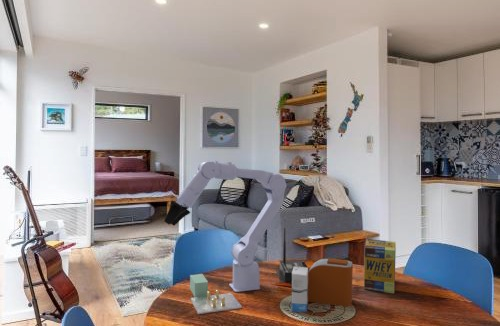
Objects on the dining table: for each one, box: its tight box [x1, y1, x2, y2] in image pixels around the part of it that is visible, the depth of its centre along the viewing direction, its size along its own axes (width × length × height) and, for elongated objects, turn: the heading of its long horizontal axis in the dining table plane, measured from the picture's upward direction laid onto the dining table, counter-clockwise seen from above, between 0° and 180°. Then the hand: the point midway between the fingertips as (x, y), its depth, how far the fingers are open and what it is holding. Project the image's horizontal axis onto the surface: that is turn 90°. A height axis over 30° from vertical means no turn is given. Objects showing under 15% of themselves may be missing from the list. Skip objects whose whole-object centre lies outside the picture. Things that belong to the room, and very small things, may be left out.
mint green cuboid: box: [189, 273, 209, 298], centre depth 131 cm, size 5×9×5 cm, turn 20°
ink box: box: [291, 267, 309, 313], centre depth 118 cm, size 8×5×12 cm, turn 168°
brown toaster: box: [308, 258, 354, 308], centre depth 124 cm, size 15×8×14 cm, turn 71°
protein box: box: [363, 238, 397, 294], centre depth 139 cm, size 10×15×16 cm
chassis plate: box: [190, 292, 243, 315], centre depth 120 cm, size 14×12×1 cm
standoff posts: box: [207, 289, 225, 307], centre depth 120 cm, size 4×8×2 cm, turn 20°
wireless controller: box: [275, 227, 310, 283], centre depth 151 cm, size 20×14×17 cm
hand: (169, 223), depth 126 cm, fingers open, 7 cm apart
